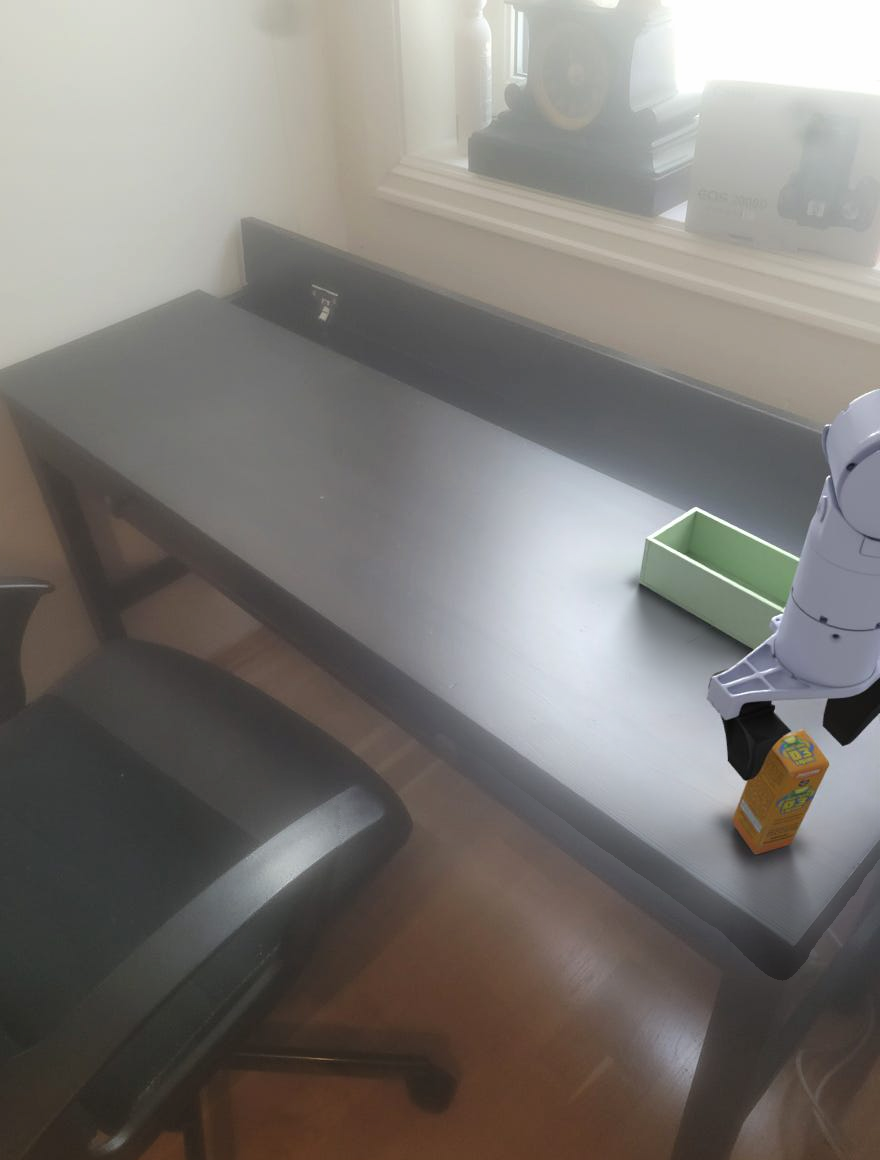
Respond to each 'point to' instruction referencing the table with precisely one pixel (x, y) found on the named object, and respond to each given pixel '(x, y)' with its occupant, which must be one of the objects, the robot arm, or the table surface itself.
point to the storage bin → (719, 574)
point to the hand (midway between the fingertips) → (788, 751)
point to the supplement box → (780, 793)
